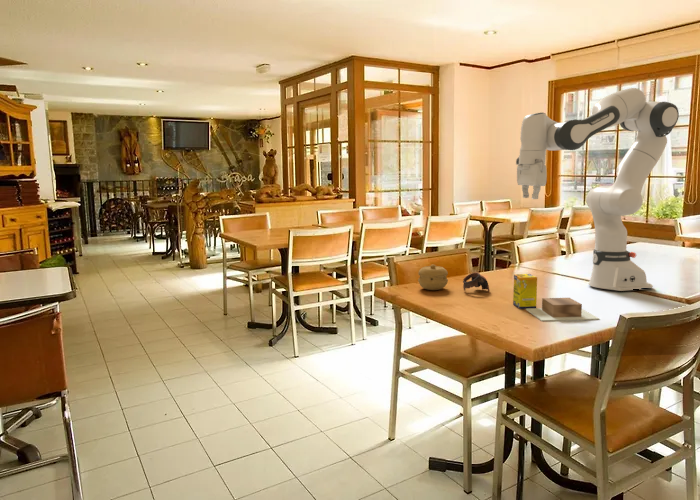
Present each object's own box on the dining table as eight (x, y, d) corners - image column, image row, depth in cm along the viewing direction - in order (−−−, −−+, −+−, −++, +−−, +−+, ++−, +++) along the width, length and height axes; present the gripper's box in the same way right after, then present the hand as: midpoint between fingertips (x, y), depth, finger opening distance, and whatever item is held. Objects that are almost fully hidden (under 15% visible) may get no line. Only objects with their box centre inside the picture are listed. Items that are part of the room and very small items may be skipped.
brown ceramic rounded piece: (492, 294, 199) (483, 276, 197) (469, 304, 202) (460, 286, 200) (489, 281, 210) (480, 264, 208) (467, 291, 213) (458, 274, 211)
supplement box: (512, 305, 183) (513, 274, 181) (529, 304, 183) (530, 273, 182) (519, 309, 177) (520, 277, 176) (536, 308, 178) (537, 276, 176)
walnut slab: (568, 309, 174) (569, 297, 173) (581, 316, 165) (581, 304, 165) (541, 310, 174) (542, 298, 173) (552, 317, 165) (553, 305, 164)
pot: (453, 291, 206) (453, 265, 205) (425, 293, 203) (425, 268, 202) (439, 285, 218) (439, 261, 216) (413, 287, 214) (413, 263, 213)
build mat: (578, 308, 177) (578, 307, 177) (599, 319, 163) (599, 318, 163) (525, 309, 176) (525, 308, 176) (541, 321, 162) (541, 320, 162)
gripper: (552, 158, 177) (550, 199, 179) (531, 160, 197) (529, 197, 199) (533, 158, 177) (531, 199, 179) (514, 160, 197) (512, 197, 199)
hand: (530, 198), depth 189 cm, fingers open, 8 cm apart
